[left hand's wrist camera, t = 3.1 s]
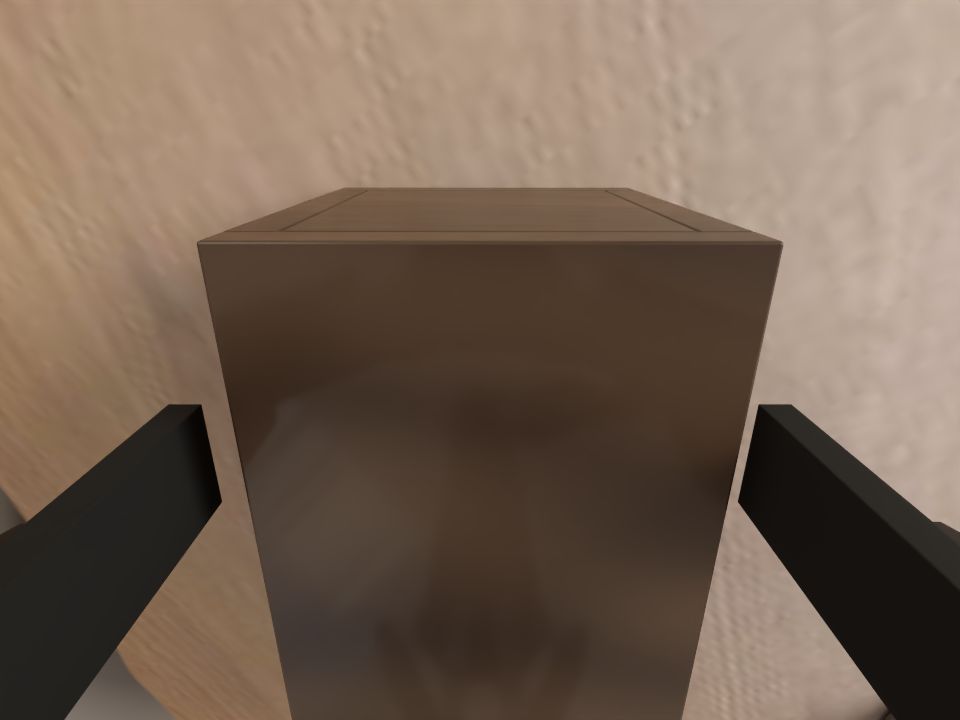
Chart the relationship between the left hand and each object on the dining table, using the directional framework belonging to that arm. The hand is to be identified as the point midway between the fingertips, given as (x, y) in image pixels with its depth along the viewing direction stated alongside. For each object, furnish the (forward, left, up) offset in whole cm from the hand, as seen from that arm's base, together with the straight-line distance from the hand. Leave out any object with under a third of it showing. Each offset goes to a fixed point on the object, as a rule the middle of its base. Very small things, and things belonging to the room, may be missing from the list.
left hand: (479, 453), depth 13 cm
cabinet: (+5, 0, -10) cm, 11 cm away
